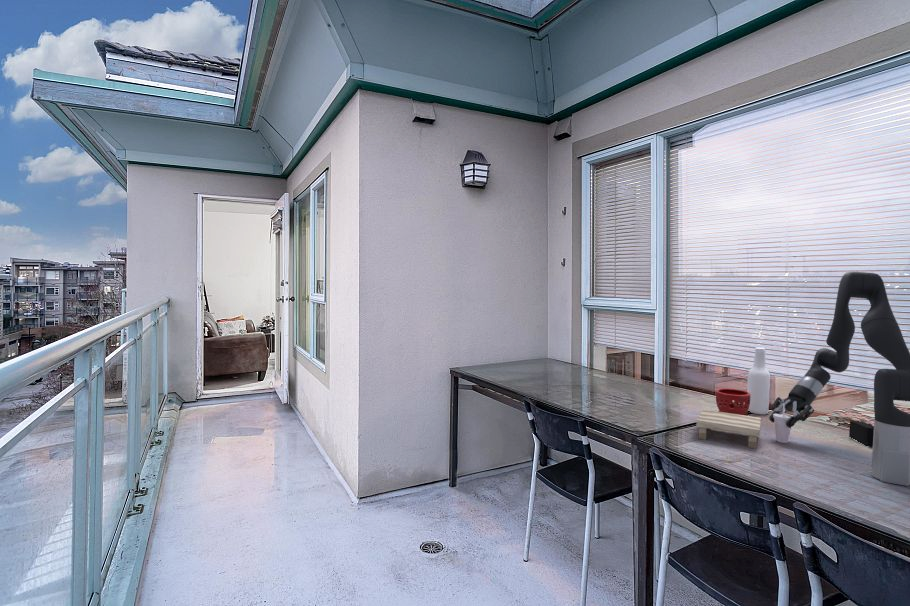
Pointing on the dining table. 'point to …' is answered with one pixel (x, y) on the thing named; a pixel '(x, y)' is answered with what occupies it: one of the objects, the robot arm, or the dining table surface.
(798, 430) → the dining table surface
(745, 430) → the low wooden platform
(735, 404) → the plant pot
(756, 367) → the alcohol
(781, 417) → the smoothie
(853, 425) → the digital camera
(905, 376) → the robot arm
